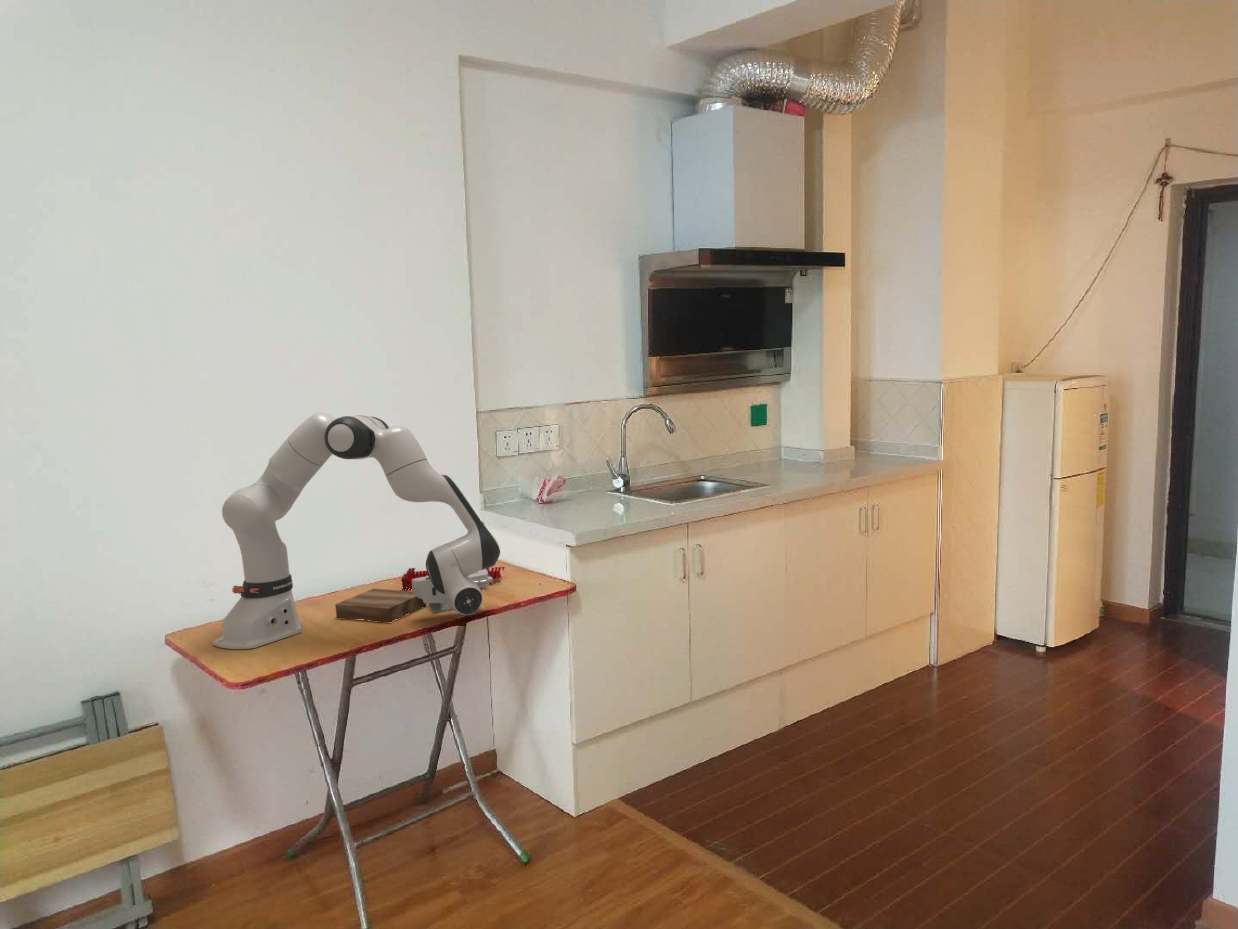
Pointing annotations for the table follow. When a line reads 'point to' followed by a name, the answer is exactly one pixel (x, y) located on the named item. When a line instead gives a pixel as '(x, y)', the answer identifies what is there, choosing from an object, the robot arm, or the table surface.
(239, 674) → the table surface
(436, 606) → the rack
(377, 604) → the deck
